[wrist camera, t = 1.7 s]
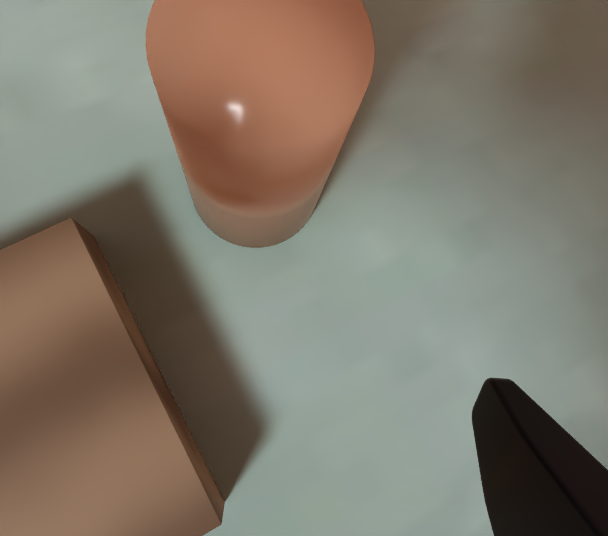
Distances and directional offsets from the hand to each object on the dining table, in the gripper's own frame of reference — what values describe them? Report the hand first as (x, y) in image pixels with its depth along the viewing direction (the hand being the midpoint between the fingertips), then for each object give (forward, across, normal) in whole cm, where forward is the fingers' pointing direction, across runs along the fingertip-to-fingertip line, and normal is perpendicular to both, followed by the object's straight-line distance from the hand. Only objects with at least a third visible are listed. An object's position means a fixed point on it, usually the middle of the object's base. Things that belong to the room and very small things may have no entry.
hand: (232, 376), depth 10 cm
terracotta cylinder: (+15, 0, +4) cm, 16 cm away
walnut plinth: (+7, +8, +12) cm, 16 cm away
